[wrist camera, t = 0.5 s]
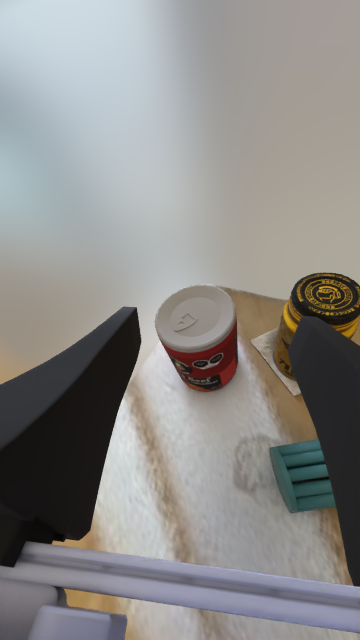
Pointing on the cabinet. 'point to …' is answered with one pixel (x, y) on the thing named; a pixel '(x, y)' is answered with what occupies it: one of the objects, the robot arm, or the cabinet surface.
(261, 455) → the cabinet surface
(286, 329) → the condiment
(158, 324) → the canned food
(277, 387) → the cabinet surface
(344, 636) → the cabinet surface
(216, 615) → the cabinet surface
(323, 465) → the pencil holder
